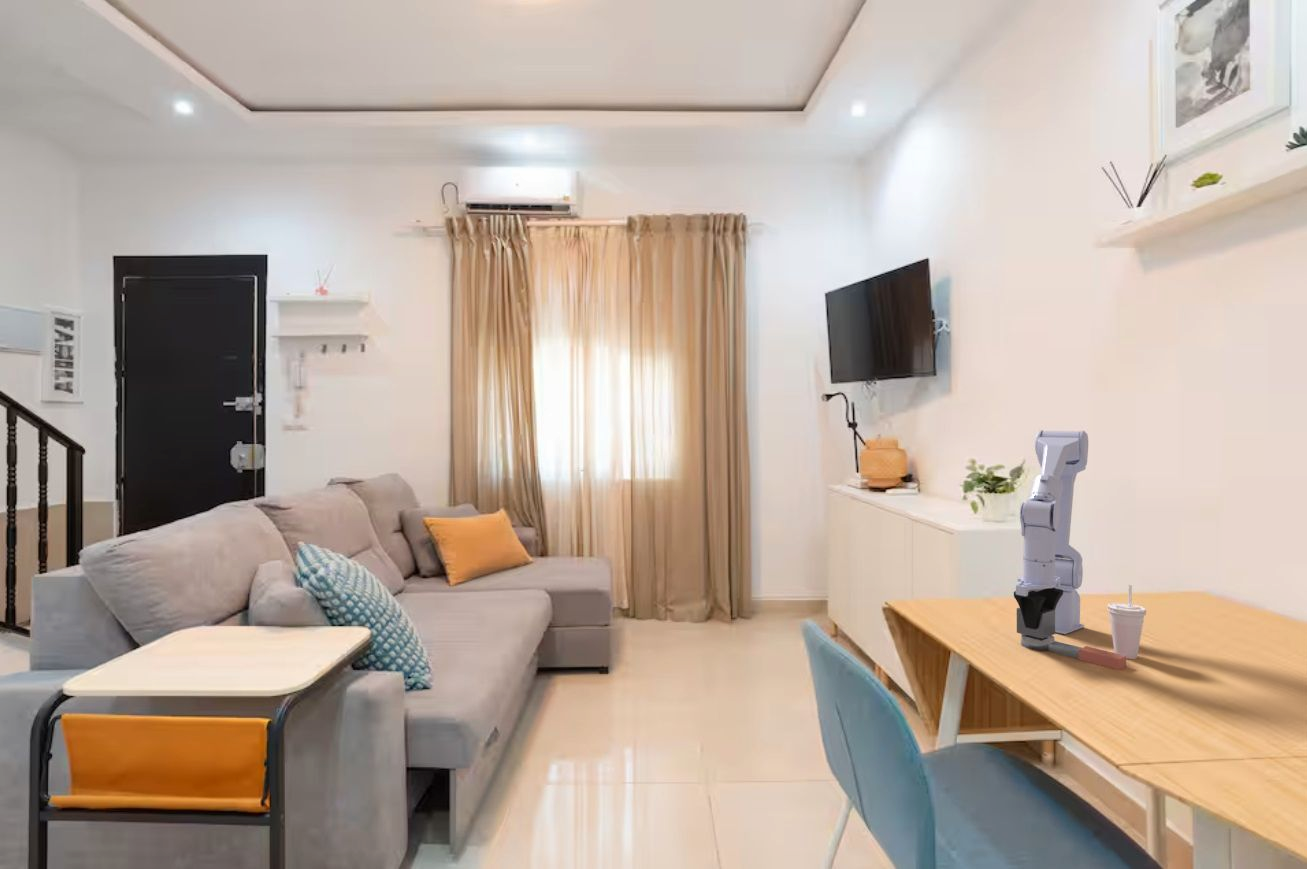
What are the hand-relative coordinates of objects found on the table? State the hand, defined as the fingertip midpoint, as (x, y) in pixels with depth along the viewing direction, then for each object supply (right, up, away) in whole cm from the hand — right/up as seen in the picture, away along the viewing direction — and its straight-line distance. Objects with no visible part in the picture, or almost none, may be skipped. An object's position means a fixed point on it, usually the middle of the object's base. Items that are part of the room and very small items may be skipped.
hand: (1038, 625), depth 145 cm
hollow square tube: (0, -2, 0) cm, 2 cm away
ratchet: (+4, -4, -5) cm, 8 cm away
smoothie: (+14, -5, -6) cm, 16 cm away
